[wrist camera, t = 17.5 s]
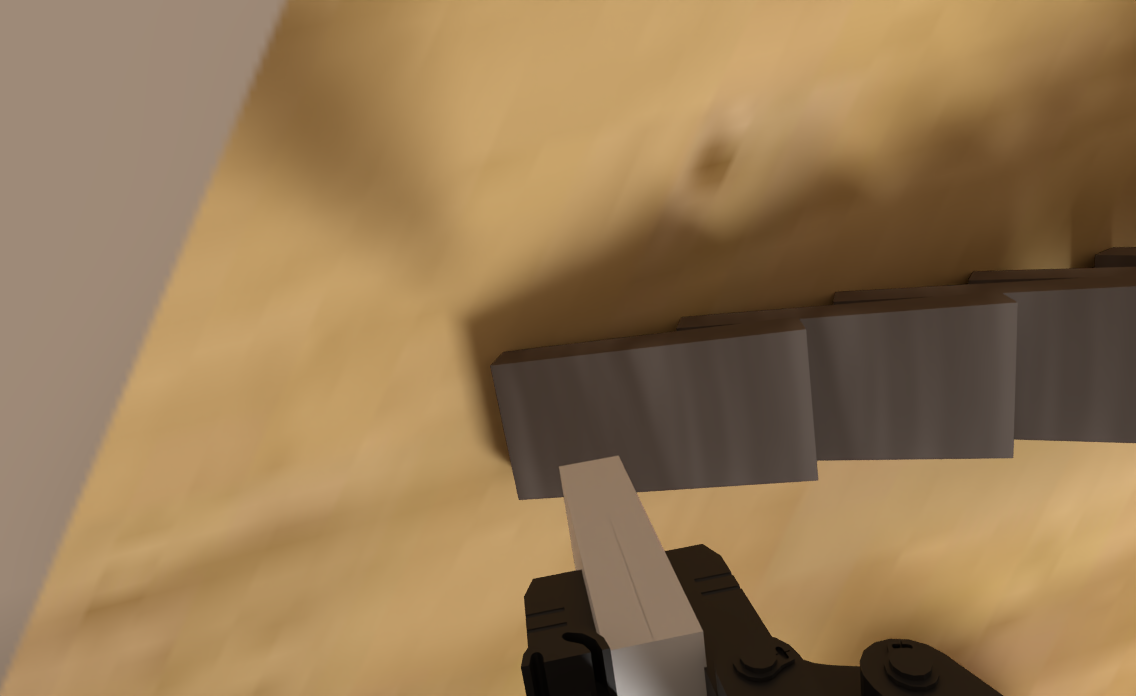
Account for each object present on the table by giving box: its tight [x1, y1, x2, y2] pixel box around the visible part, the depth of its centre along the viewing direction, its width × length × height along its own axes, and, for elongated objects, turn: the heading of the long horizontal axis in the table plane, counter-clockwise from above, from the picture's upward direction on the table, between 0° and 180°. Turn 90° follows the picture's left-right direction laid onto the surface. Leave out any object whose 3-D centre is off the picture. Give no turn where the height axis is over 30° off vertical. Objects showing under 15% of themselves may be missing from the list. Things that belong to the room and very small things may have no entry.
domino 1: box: [490, 317, 818, 500], centre depth 22 cm, size 2×5×10 cm
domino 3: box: [833, 275, 1136, 443], centre depth 22 cm, size 2×5×10 cm
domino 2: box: [676, 291, 1018, 461], centre depth 22 cm, size 2×5×10 cm
